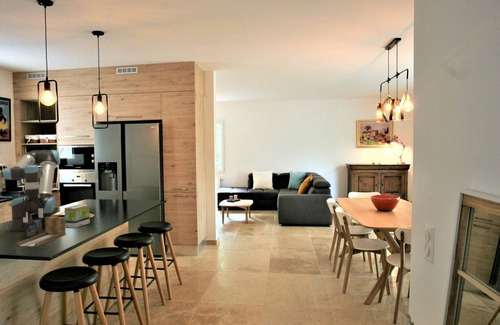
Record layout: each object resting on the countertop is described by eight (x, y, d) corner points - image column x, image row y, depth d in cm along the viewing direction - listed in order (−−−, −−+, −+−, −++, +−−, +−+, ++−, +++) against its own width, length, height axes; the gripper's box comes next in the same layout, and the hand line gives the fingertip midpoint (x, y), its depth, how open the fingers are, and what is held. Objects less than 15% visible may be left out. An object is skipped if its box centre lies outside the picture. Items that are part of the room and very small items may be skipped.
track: (17, 246, 193) (16, 226, 193) (47, 234, 219) (46, 216, 218) (37, 246, 192) (36, 226, 192) (65, 234, 218) (64, 217, 217)
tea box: (76, 228, 235) (75, 208, 234) (64, 227, 237) (63, 207, 236) (90, 223, 250) (89, 204, 249) (79, 222, 252) (78, 204, 251)
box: (25, 237, 212) (25, 221, 211) (29, 235, 218) (29, 219, 217) (39, 236, 214) (38, 220, 213) (42, 234, 219) (41, 219, 219)
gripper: (22, 190, 201) (24, 224, 202) (50, 186, 226) (51, 216, 227) (11, 190, 202) (13, 224, 203) (40, 186, 227) (41, 216, 227)
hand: (33, 220), depth 215 cm, fingers open, 13 cm apart
